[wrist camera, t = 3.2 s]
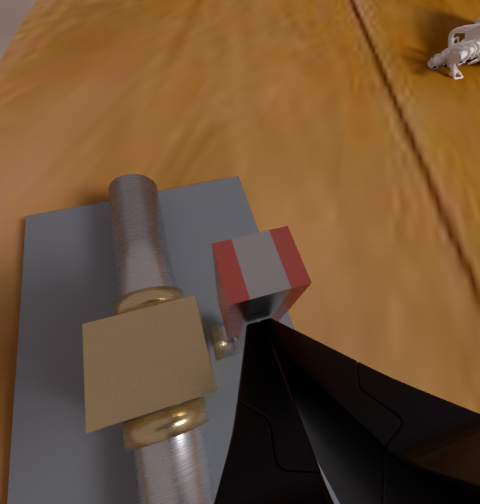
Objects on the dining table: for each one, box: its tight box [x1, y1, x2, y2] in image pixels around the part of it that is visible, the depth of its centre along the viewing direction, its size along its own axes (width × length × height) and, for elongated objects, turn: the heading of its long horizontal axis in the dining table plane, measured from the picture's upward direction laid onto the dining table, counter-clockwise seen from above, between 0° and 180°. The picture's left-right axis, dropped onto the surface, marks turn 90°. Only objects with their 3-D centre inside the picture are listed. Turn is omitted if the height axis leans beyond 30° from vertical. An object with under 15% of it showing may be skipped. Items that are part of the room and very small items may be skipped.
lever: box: [209, 226, 311, 361], centre depth 12 cm, size 2×3×12 cm
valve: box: [82, 174, 218, 504], centre depth 16 cm, size 26×6×5 cm, turn 16°
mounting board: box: [7, 176, 340, 504], centre depth 18 cm, size 28×18×1 cm, turn 16°
